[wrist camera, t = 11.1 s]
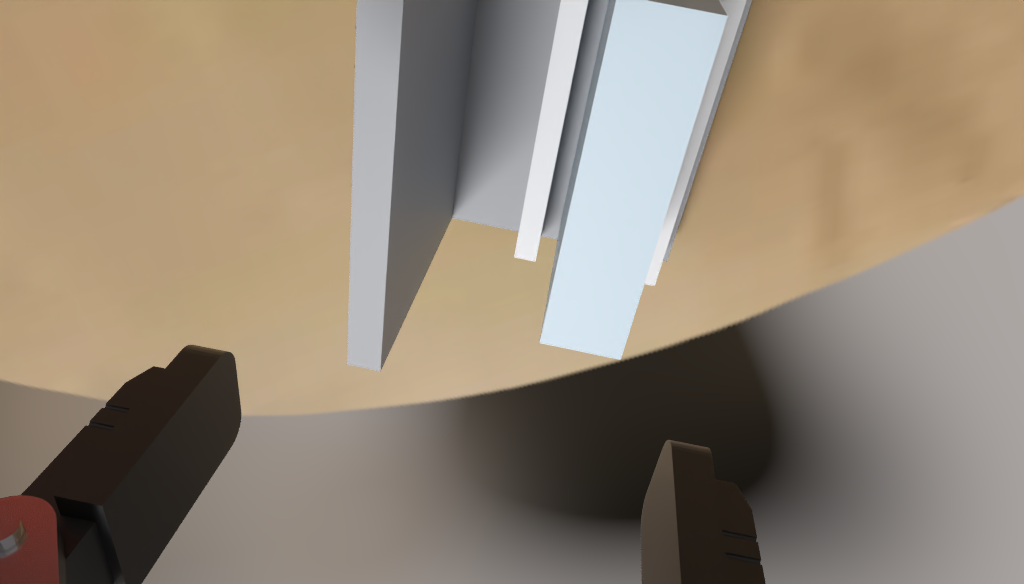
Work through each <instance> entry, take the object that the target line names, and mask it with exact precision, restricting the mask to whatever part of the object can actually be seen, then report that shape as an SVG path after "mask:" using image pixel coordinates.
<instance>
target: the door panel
mask: <svg viewBox="0 0 1024 584" xmlns="http://www.w3.org/2000/svg"><path fill="white" fill-rule="evenodd" d="M727 17H728V15H727V13H726V12H725V10H724V8H723V7H722V5H721V3H720V2H719V0H609V1H608V6H607V10H606V15H605V19H604V24H603V29H602V33H601V38H600V42H599V47H598V52H597V56H596V61H595V65H594V70H593V75H592V79H591V84H590V88H589V93H588V98H587V102H586V107H585V111H584V116H583V121H582V125H581V130H580V134H579V139H578V143H577V148H576V153H575V157H574V162H573V166H572V171H571V176H570V180H569V185H568V189H567V194H566V199H565V203H564V208H563V212H562V217H561V222H560V228H559V234H558V239H557V245H556V251H555V257H554V262H553V268H552V274H551V280H550V286H549V291H548V297H547V303H546V309H545V314H544V320H543V326H542V332H541V337H540V343H542V344H547V345H552V346H557V347H562V348H566V349H571V350H576V351H581V352H586V353H590V354H595V355H600V356H605V357H610V358H614V359H619V360H621V357H622V354H623V351H624V348H625V344H626V341H627V338H628V335H629V331H630V328H631V325H632V322H633V319H634V315H635V312H636V309H637V306H638V303H639V299H640V296H641V293H642V290H643V287H644V283H645V280H646V277H647V274H648V271H649V267H650V264H651V261H652V258H653V255H654V251H655V248H656V245H657V242H658V239H659V235H660V232H661V229H662V226H663V222H664V219H665V216H666V213H667V210H668V206H669V203H670V200H671V197H672V194H673V190H674V187H675V184H676V181H677V178H678V174H679V171H680V168H681V165H682V162H683V158H684V155H685V152H686V149H687V146H688V142H689V139H690V136H691V133H692V130H693V126H694V123H695V120H696V117H697V113H698V110H699V107H700V104H701V101H702V97H703V94H704V91H705V88H706V85H707V81H708V78H709V75H710V72H711V69H712V65H713V62H714V59H715V56H716V53H717V49H718V46H719V43H720V40H721V37H722V33H723V30H724V27H725V24H726V20H727Z"/></svg>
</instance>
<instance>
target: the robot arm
mask: <svg viewBox="0 0 1024 584" xmlns="http://www.w3.org/2000/svg"><path fill="white" fill-rule="evenodd" d="M240 422H241V405H240V397H239V388H238V380H237V371H236V363H235V358H234V356H233V354H232V353H231V352H226V351H221V350H216V349H211V348H206V347H201V346H196V345H188V346H186V347H184V348H183V349H182V350H181V351H180V353H179V354H178V355H177V356H176V357H175V358H174V359H173V361H172V362H171V363H170V364H169V365H168V366H167V367H166V368H165V369H164V368H159V367H152V368H150V369H148V370H147V371H145V372H143V373H141V374H140V375H138V376H136V377H135V378H133V379H131V380H129V381H128V382H126V383H125V384H124V385H123V386H122V387H121V388H120V389H119V390H118V391H117V392H116V394H115V395H114V396H113V397H112V398H111V399H110V400H109V401H108V402H107V403H106V407H105V408H102V409H101V410H100V411H99V412H98V413H97V414H96V415H95V416H94V417H93V418H92V419H91V420H90V424H89V426H85V427H84V428H83V429H82V430H81V431H80V432H79V433H78V434H77V435H76V437H75V438H74V439H73V440H72V441H71V442H70V443H69V444H68V445H67V446H66V447H65V448H64V449H63V451H62V452H61V453H60V454H59V455H58V456H57V457H56V458H55V459H54V460H53V461H52V462H51V463H50V464H49V466H48V467H47V468H46V469H45V470H44V471H43V472H42V473H41V474H40V475H39V476H38V478H37V479H36V480H35V481H34V482H33V483H32V484H31V485H30V486H29V487H28V488H27V489H26V490H25V491H24V492H23V493H22V494H21V495H18V496H9V497H5V498H0V584H142V582H143V581H144V579H145V578H146V576H147V575H148V573H149V572H150V570H151V569H152V567H153V566H154V564H155V563H156V561H157V559H158V558H159V556H160V555H161V553H162V552H163V550H164V549H165V547H166V546H167V544H168V543H169V541H170V540H171V538H172V537H173V535H174V534H175V532H176V531H177V529H178V527H179V526H180V524H181V523H182V521H183V520H184V518H185V517H186V515H187V514H188V512H189V510H190V509H191V508H192V506H193V505H194V503H195V502H196V500H197V498H198V497H199V495H200V494H201V492H202V491H203V489H204V488H205V486H206V485H207V483H208V482H209V480H210V479H211V477H212V476H213V474H214V473H215V471H216V469H217V468H218V467H219V465H220V463H221V462H222V460H223V459H224V457H225V456H226V454H227V453H228V451H229V450H230V448H231V447H232V445H233V443H234V441H235V439H236V437H237V434H238V431H239V427H240ZM756 538H757V535H756V530H755V524H754V519H753V514H752V510H751V508H750V506H749V504H748V503H747V501H746V500H745V498H744V496H743V495H742V493H741V492H740V490H739V488H738V487H737V485H736V484H735V483H730V482H725V481H719V480H715V474H714V467H713V459H712V453H711V450H710V449H709V448H707V447H702V446H697V445H692V444H686V443H681V442H676V441H671V440H667V441H666V442H665V445H664V447H663V449H662V452H661V455H660V458H659V460H658V463H657V466H656V469H655V471H654V474H653V477H652V480H651V483H650V485H649V488H648V491H647V494H646V497H645V501H644V506H643V512H642V519H641V563H642V564H641V566H642V567H641V569H642V584H765V578H764V573H763V568H762V565H760V561H761V557H760V551H759V546H758V542H756Z"/></svg>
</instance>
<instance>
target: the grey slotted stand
mask: <svg viewBox="0 0 1024 584" xmlns="http://www.w3.org/2000/svg"><path fill="white" fill-rule="evenodd" d="M608 1H609V0H357V17H356V54H355V91H354V129H353V166H352V203H351V241H350V278H349V316H348V353H347V365H352V366H357V367H361V368H366V369H371V370H376V371H381V369H382V367H383V365H384V363H385V361H386V358H387V356H388V354H389V352H390V350H391V348H392V345H393V343H394V341H395V339H396V337H397V335H398V333H399V330H400V328H401V326H402V324H403V322H404V320H405V318H406V315H407V313H408V311H409V309H410V307H411V305H412V302H413V300H414V298H415V296H416V294H417V292H418V290H419V287H420V285H421V283H422V281H423V279H424V277H425V275H426V272H427V270H428V268H429V266H430V264H431V262H432V260H433V257H434V255H435V253H436V251H437V249H438V247H439V244H440V242H441V240H442V238H443V236H444V234H445V232H446V229H447V227H448V225H449V223H450V221H451V219H452V218H454V219H459V220H464V221H469V222H474V223H479V224H483V225H488V226H493V227H498V228H503V229H508V230H513V231H518V232H519V234H518V239H517V245H516V250H515V256H514V257H515V258H520V259H525V260H530V261H536V257H537V252H538V247H539V243H540V238H541V236H542V237H547V238H552V239H558V234H559V228H560V222H561V217H562V212H563V208H564V203H565V199H566V194H567V189H568V185H569V180H570V176H571V171H572V166H573V162H574V157H575V153H576V148H577V143H578V139H579V134H580V130H581V125H582V121H583V116H584V111H585V107H586V102H587V98H588V93H589V88H590V84H591V79H592V75H593V70H594V65H595V61H596V56H597V52H598V47H599V42H600V38H601V33H602V29H603V24H604V19H605V15H606V10H607V6H608ZM719 2H720V3H721V5H722V7H723V8H724V10H725V12H726V13H727V15H728V17H727V20H726V24H725V27H724V30H723V33H722V37H721V40H720V43H719V46H718V49H717V53H716V56H715V59H714V62H713V65H712V69H711V72H710V75H709V78H708V81H707V85H706V88H705V91H704V94H703V97H702V101H701V104H700V107H699V110H698V113H697V117H696V120H695V123H694V126H693V130H692V133H691V136H690V139H689V142H688V146H687V149H686V152H685V155H684V158H683V162H682V165H681V168H680V171H679V174H678V178H677V181H676V184H675V187H674V190H673V194H672V197H671V200H670V203H669V206H668V210H667V213H666V216H665V219H664V222H663V226H662V229H661V232H660V235H659V239H658V242H657V245H656V248H655V251H654V255H653V258H652V261H651V264H650V267H649V271H648V274H647V277H646V280H645V283H644V284H647V285H652V286H655V283H656V280H657V277H658V274H659V271H660V268H661V265H662V261H665V262H667V260H668V257H669V254H670V251H671V248H672V245H673V242H674V239H675V236H676V233H677V229H678V226H679V223H680V220H681V217H682V214H683V211H684V208H685V205H686V202H687V199H688V196H689V193H690V190H691V187H692V184H693V180H694V177H695V174H696V171H697V168H698V165H699V162H700V159H701V156H702V153H703V150H704V147H705V144H706V141H707V138H708V135H709V131H710V128H711V125H712V122H713V119H714V116H715V113H716V110H717V107H718V104H719V101H720V98H721V95H722V92H723V89H724V86H725V82H726V79H727V76H728V73H729V70H730V67H731V64H732V61H733V58H734V55H735V52H736V49H737V46H738V43H739V40H740V37H741V33H742V30H743V27H744V24H745V21H746V18H747V15H748V12H749V9H750V6H751V3H752V0H719Z"/></svg>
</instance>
